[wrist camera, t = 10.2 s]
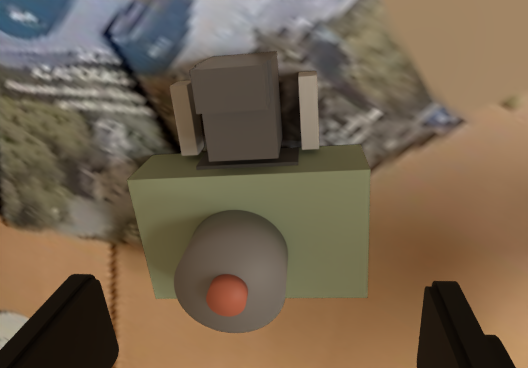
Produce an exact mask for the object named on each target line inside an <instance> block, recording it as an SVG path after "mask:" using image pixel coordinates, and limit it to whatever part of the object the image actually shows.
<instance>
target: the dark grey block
mask: <svg viewBox="0 0 528 368" xmlns="http://www.w3.org/2000/svg"><path fill="white" fill-rule="evenodd" d="M190 76H191V83H192V89H193V95H194V102H195V108H196V114H202V118H203V124H204V131H205V138H206V144H207V151H208V157H209V162H212V161H233V160H254V159H275V158H279V153H280V147H281V142H282V136H283V133H282V118H281V104H280V90H279V75H278V61H277V51H273V52H261V53H249V54H237V55H224V56H213V57H211V58H209V59H207V60H205V61H203V62H201V63H199V64H197V65H195V68H193V69H191V70H190Z"/></svg>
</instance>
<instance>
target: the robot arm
mask: <svg viewBox="0 0 528 368" xmlns="http://www.w3.org/2000/svg"><path fill="white" fill-rule="evenodd" d="M118 352H119V346H118V343H117V339H116V336H115V332H114V329H113V325H112V322H111V318H110V315H109V311H108V308H107V304H106V301H105V297H104V294H103V290H102V287H101V284H100V281H99V280H97V279H95V277H94V276H93V275H91V274H73V275H71V276H69V277H68V278H67V279H66V281H65V282H64V283H63V284H62V285H61V286H60V287H59V288H58V289H57V290H56V291H55V292H54V293H53V294H52V295H51V297H50V298H49V299H48V300H47V301H46V302H45V303H44V304H43V305H42V306H41V307H40V308H39V309H38V310H37V311H36V313H35V314H34V315H33V316H32V317H31V318H30V319H29V320H28V321H27V322H26V323H25V324H24V325H23V326H22V327H21V329H20V330H19V331H18V332H17V333H16V334H15V335H14V336H13V337H12V338H11V339H10V340H9V341H8V342H7V343H6V345H5V346H4V347H3V348H2V349H1V350H0V368H112V366H113V364H114V363H115V361H116V359H117V357H118ZM417 368H516V367H515V365H514V364H513V362H512V360H511V358H510V356H509V354H508V353H507V351H506V349H505V347H504V345H503V344H502V342H501V341H500V339H499V338H498V337H497V336H496V335H484V333H483V331H482V329H481V327H480V325H479V323H478V321H477V319H476V317H475V315H474V313H473V311H472V309H471V307H470V305H469V303H468V302H467V300H466V298H465V296H464V294H463V292H462V290H461V288H460V286H459V284H458V283H457V282H456V281H434V282H433V283H432V287H428V286H426V287H425V291H424V300H423V309H422V318H421V327H420V336H419V345H418V354H417Z"/></svg>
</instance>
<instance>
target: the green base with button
mask: <svg viewBox="0 0 528 368" xmlns="http://www.w3.org/2000/svg"><path fill="white" fill-rule="evenodd" d="M298 81H299V101H300V121H301V140H302V147H295V148H280V153H279V158H275V159H254V160H233V161H212V162H209V157H208V152H201V150H202V149H203V147H204V140H203V133H202V127H201V121H200V114H196V108H195V102H194V95H193V89H192V83H191V80H187V81H178V82H176V83H174V84H172V85H171V86H169V87H170V92H171V98H172V103H173V109H174V114H175V120H176V125H177V131H178V137H179V142H180V148H181V154H162V155H152V156H151V157H150V158H149V159H148V160H147V161H146V162H145V163H144V164H143V165H142V166H141V167H140V168H139V169H138V170H137V171H136V172H135V173H134V174H133V175H132V176H130V177H129V178H128V179H127V184H128V188H129V192H130V196H131V200H132V204H133V208H134V212H135V216H136V220H137V224H138V228H139V232H140V236H141V240H142V245H143V249H144V253H145V257H146V261H147V265H148V269H149V273H150V277H151V281H152V285H153V289H154V293H155V297H156V299H178V301H179V303H180V304H181V306H182V307H183V309H184V310H185V311H186V312H187V313H188V314H189V315H190V316H191V317H192V318H193V319H195V320H196V321H198V322H199V323H201V324H202V325H204V326H207V327H209V328H211V329H214V330H218V331H221V332H228V333H244V332H250V331H254V330H257V329H259V328H262V327H264V326H265V325H267V324H269V323H270V322H271V321H272V320H273V319H274V318H275V317H276V316H277V315H278V314H279V312H280V311H281V309H282V307H283V304H284V301H285V298H368V254H369V209H370V167H369V165H368V162H367V160H366V157H365V155H364V152H363V150H362V147H361V145H360V144H357V145H337V146H319V125H318V94H317V73H316V71H308V72H299V75H298ZM200 152H201V153H200Z"/></svg>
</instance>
